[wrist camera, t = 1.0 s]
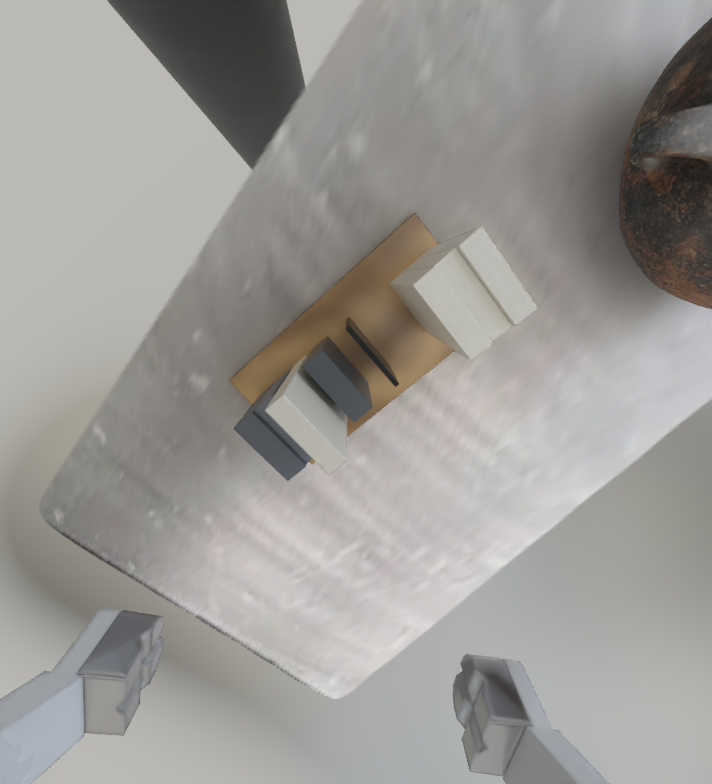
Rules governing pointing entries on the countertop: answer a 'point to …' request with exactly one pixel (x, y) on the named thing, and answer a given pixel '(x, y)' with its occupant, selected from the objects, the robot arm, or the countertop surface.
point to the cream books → (464, 293)
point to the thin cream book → (311, 418)
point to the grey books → (333, 379)
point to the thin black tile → (371, 351)
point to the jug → (673, 176)
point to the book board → (359, 326)
